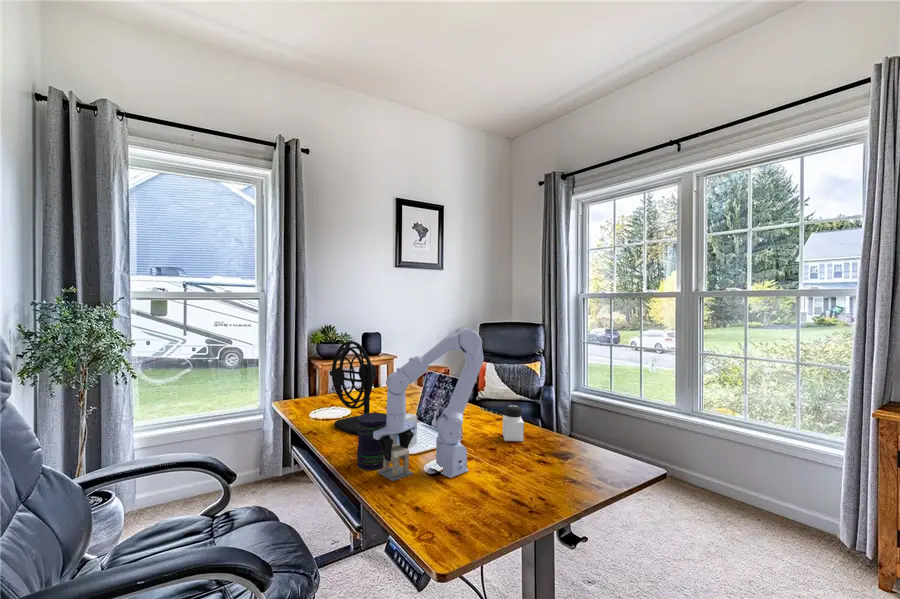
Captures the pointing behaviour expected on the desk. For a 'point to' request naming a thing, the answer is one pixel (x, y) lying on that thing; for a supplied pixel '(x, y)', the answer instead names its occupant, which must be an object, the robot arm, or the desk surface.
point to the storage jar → (370, 441)
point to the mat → (389, 475)
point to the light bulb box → (413, 441)
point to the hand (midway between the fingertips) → (395, 457)
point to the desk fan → (367, 377)
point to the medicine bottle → (513, 424)
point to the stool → (397, 459)
